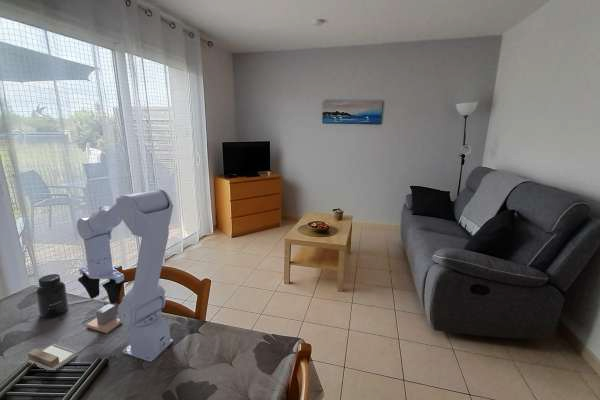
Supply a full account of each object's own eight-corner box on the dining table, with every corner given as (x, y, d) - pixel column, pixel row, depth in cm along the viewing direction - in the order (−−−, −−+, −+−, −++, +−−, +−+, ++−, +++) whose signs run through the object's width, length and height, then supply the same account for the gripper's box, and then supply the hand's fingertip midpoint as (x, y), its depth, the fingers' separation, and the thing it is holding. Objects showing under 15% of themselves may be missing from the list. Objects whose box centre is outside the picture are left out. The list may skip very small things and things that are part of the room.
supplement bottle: (55, 319, 83) (49, 284, 81) (33, 318, 83) (26, 282, 81) (74, 306, 90) (69, 272, 87) (53, 304, 90) (47, 271, 87)
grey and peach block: (123, 321, 84) (121, 307, 82) (106, 333, 79) (104, 318, 77) (104, 316, 86) (102, 301, 84) (86, 327, 81) (84, 312, 79)
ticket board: (76, 355, 71) (75, 345, 70) (52, 372, 66) (50, 361, 65) (54, 347, 73) (52, 338, 72) (29, 363, 68) (27, 353, 67)
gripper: (131, 255, 80) (135, 297, 83) (93, 247, 84) (99, 287, 87) (108, 265, 73) (114, 310, 76) (68, 257, 77) (75, 300, 80)
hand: (104, 299), depth 81 cm, fingers open, 7 cm apart
